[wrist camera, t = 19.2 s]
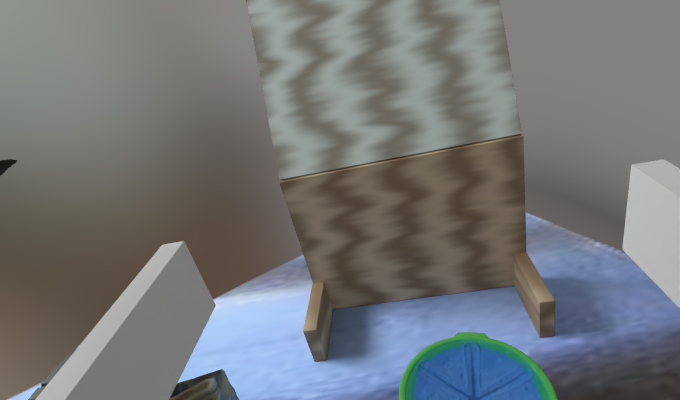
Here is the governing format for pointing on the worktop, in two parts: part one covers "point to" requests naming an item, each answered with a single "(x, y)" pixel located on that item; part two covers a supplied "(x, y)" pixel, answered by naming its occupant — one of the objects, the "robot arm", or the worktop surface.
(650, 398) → the worktop surface
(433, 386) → the snack cup
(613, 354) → the worktop surface
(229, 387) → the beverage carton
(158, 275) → the robot arm
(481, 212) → the tan tall piece
